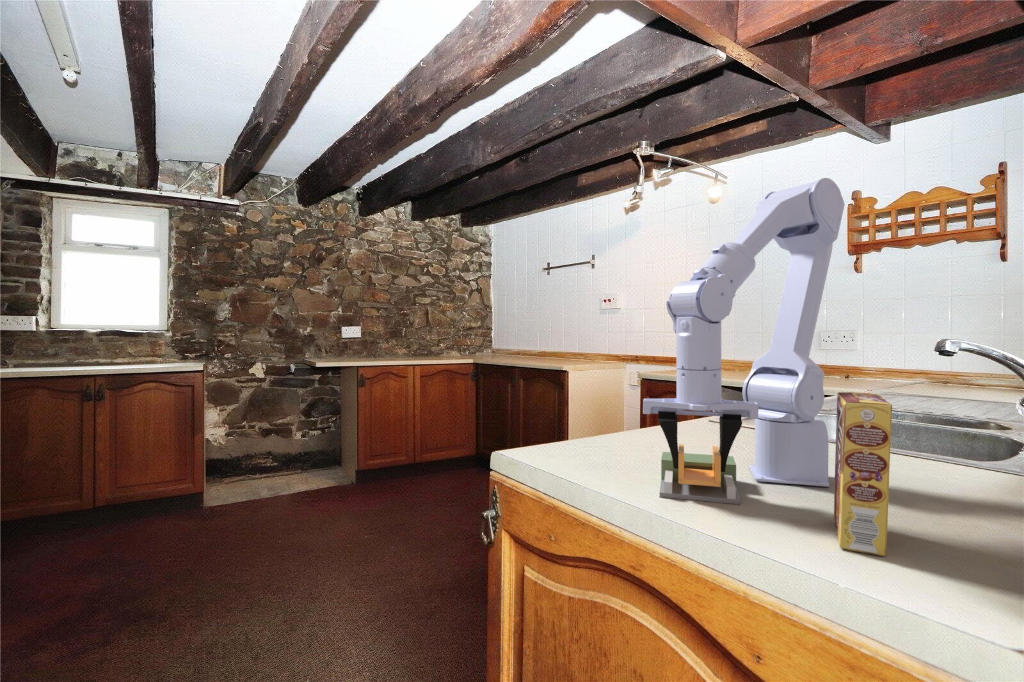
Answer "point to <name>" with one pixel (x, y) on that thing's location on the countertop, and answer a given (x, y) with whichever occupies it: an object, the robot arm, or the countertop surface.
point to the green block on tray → (698, 492)
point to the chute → (700, 471)
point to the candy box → (862, 472)
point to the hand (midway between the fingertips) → (698, 468)
